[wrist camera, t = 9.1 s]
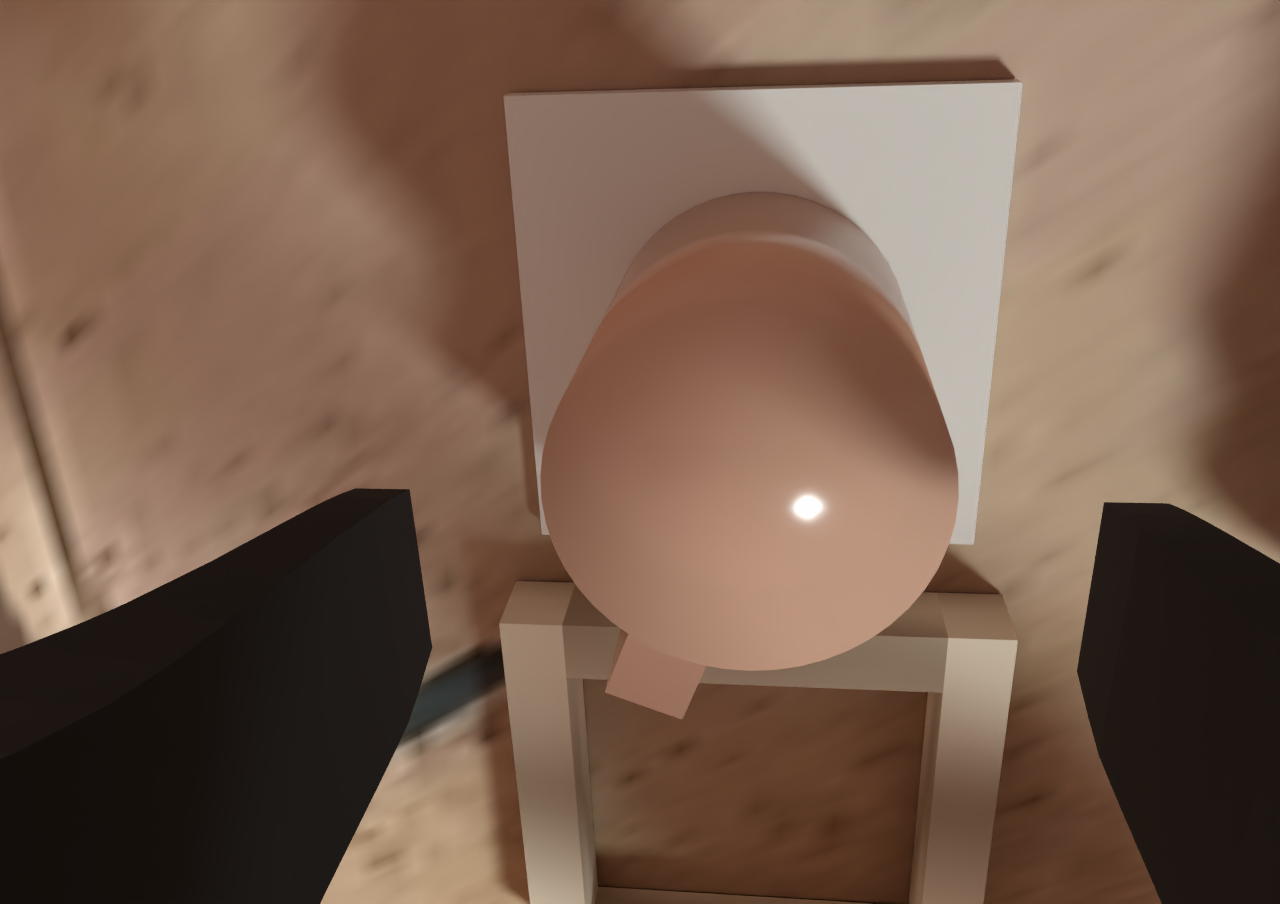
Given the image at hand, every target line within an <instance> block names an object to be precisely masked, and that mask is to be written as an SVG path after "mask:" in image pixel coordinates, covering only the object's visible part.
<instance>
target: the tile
mask: <svg viewBox="0 0 1280 904" xmlns="http://www.w3.org/2000/svg"><path fill="white" fill-rule="evenodd" d="M1022 85H1023V82H1021V81H1019V80H1018V79H1012V80H975V81H937V82H900V83H863V84H826V85H789V86H752V87H715V88H678V89H641V90H604V91H567V92H530V93H508V94H506V95H505V96H503V98H504V109H505V121H506V132H507V143H508V155H509V166H510V178H511V189H512V200H513V212H514V223H515V235H516V246H517V257H518V269H519V280H520V292H521V303H522V314H523V326H524V337H525V349H526V360H527V372H528V383H529V394H530V406H531V417H532V429H533V440H534V451H535V463H536V474H537V486H538V497H539V508H540V520H541V531H542V535H550V534H549V531H548V528H547V525H546V522H545V516H544V511H543V506H542V501H541V480H540V474H541V464H542V454H543V449H544V445H545V441H546V437H547V433H548V429H549V426H550V424H551V421H552V419H553V417H554V414H555V412H556V409H557V407H558V405H559V403H560V401H561V399H562V397H563V395H564V393H565V391H566V389H567V387H568V385H569V383H570V381H571V379H572V377H573V375H574V373H575V371H576V369H577V367H578V365H579V364H580V362H581V360H582V358H583V356H584V354H585V352H586V350H587V348H588V346H589V344H590V342H591V340H592V338H593V336H594V334H595V332H596V330H597V328H598V326H599V324H600V322H601V320H602V318H603V317H604V315H605V313H606V311H607V309H608V307H609V305H610V303H611V301H612V299H613V297H614V295H615V293H616V291H617V289H618V287H619V285H620V283H621V281H622V279H623V277H624V275H625V273H626V272H627V270H628V268H629V266H630V265H631V263H632V261H633V260H634V258H635V256H636V255H637V254H638V252H639V251H640V250H641V249H642V247H643V246H644V245H645V243H646V242H647V241H648V240H649V239H650V238H651V237H652V236H653V235H654V234H655V233H656V232H657V231H658V230H659V229H660V228H661V227H663V226H664V225H665V224H667V223H668V222H669V221H671V220H672V219H673V218H675V217H676V216H678V215H679V214H681V213H683V212H685V211H687V210H688V209H690V208H692V207H694V206H696V205H699V204H701V203H704V202H706V201H709V200H711V199H714V198H718V197H722V196H727V195H731V194H737V193H746V192H776V193H783V194H789V195H795V196H798V197H802V198H805V199H808V200H812V201H815V202H817V203H819V204H821V205H824V206H826V207H828V208H830V209H832V210H834V211H836V212H837V213H839V214H840V215H842V216H844V217H845V218H847V219H848V220H850V221H851V222H852V223H853V224H855V225H856V226H857V227H858V228H859V229H861V230H862V231H863V232H864V233H865V234H866V235H867V236H868V237H869V238H870V239H871V240H872V241H873V243H874V244H875V245H876V246H877V247H878V248H879V250H880V251H881V253H882V254H883V256H884V257H885V259H886V260H887V262H888V263H889V265H890V267H891V269H892V271H893V273H894V275H895V277H896V279H897V282H898V284H899V287H900V290H901V293H902V296H903V299H904V302H905V305H906V308H907V311H908V314H909V317H910V320H911V322H912V325H913V328H914V331H915V334H916V337H917V340H918V343H919V346H920V349H921V352H922V355H923V358H924V360H925V363H926V366H927V369H928V372H929V375H930V378H931V381H932V384H933V387H934V390H935V393H936V396H937V398H938V401H939V404H940V407H941V410H942V413H943V416H944V419H945V422H946V425H947V428H948V431H949V434H950V437H951V440H952V443H953V446H954V450H955V456H956V462H957V468H958V486H959V499H958V507H957V514H956V522H955V526H954V529H953V532H952V536H951V539H950V543H949V544H974V537H975V528H976V518H977V509H978V499H979V490H980V481H981V471H982V462H983V452H984V443H985V433H986V424H987V415H988V405H989V396H990V386H991V377H992V367H993V358H994V349H995V339H996V330H997V320H998V311H999V301H1000V292H1001V283H1002V273H1003V264H1004V254H1005V245H1006V236H1007V226H1008V217H1009V207H1010V198H1011V188H1012V179H1013V170H1014V160H1015V151H1016V141H1017V132H1018V122H1019V113H1020V104H1021V94H1022Z"/></svg>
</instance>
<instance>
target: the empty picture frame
mask: <svg viewBox="0 0 1280 904" xmlns="http://www.w3.org/2000/svg"><path fill="white" fill-rule="evenodd" d="M499 628H500V637H501V646H502V655H503V664H504V673H505V682H506V691H507V700H508V709H509V718H510V727H511V736H512V745H513V754H514V763H515V772H516V781H517V790H518V799H519V808H520V817H521V826H522V835H523V844H524V853H525V862H526V871H527V880H528V889H529V898H530V904H871V903H855V902H838V901H822V900H806V899H790V898H773V897H757V896H741V895H725V894H708V893H692V892H676V891H660V890H644V889H627V888H611V887H598V880H597V866H596V853H595V839H594V826H593V812H592V799H591V785H590V772H589V758H588V745H587V731H586V718H585V704H584V691H583V679H599V680H608V677H609V673H610V669H611V665H612V661H613V657H614V653H615V649H616V645H617V641H618V637H619V633H620V629H621V628H619V627H618V626H617V625H615V624H614V623H612V622H611V621H610V620H609V619H608V618H607V617H605V616H604V615H603V614H602V613H601V612H600V611H599V610H598V609H597V608H596V607H594V606H593V605H592V603H591V602H590V601H589V600H588V599H587V598H586V597H585V595H584V594H583V593H582V592H581V591H580V590H579V588H578V587H577V586H576V584H575V583H571V582H535V581H516V583H515V585H514V588H513V590H512V593H511V595H510V598H509V600H508V603H507V605H506V607H505V610H504V612H503V615H502V617H501V620H500V622H499ZM1017 644H1018V639H1017V636H1016V633H1015V630H1014V628H1013V625H1012V622H1011V619H1010V616H1009V613H1008V610H1007V608H1006V605H1005V602H1004V599H1003V596H1002V594H966V593H930V592H922V594H921V595H920V596H919V597H918V598H917V599H916V601H915V602H914V603H913V604H912V605H911V606H910V608H909V609H908V610H906V611H905V612H904V613H903V614H902V615H901V616H900V617H899V618H898V619H896V620H895V621H894V622H893V623H892V624H891V625H890V626H888V627H887V628H885V629H884V630H882V631H881V632H880V633H878V634H877V635H875V636H874V637H872V638H871V639H869V640H867V641H866V642H864V643H862V644H860V645H858V646H856V647H854V648H852V649H850V650H849V651H846V652H844V653H841V654H838V655H836V656H833V657H831V658H828V659H825V660H822V661H818V662H814V663H811V664H807V665H803V666H798V667H792V668H785V669H778V670H759V671H745V670H731V669H722V668H716V667H711V666H706V668H705V671H704V673H703V675H702V677H701V679H700V682H699V683H703V684H729V685H755V686H781V687H807V688H833V689H859V690H885V691H911V692H928V696H927V707H926V718H925V729H924V740H923V751H922V762H921V773H920V784H919V795H918V805H917V816H916V827H915V838H914V849H913V860H912V871H911V882H910V893H909V904H983V902H984V895H985V887H986V880H987V872H988V864H989V857H990V849H991V842H992V834H993V826H994V819H995V811H996V804H997V796H998V788H999V781H1000V773H1001V766H1002V758H1003V750H1004V743H1005V735H1006V728H1007V720H1008V712H1009V705H1010V697H1011V690H1012V682H1013V674H1014V667H1015V659H1016V652H1017Z"/></svg>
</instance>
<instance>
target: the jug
mask: <svg viewBox="0 0 1280 904" xmlns="http://www.w3.org/2000/svg"><path fill="white" fill-rule="evenodd" d="M540 480H541V501H542V506H543V511H544V516H545V522H546V525H547V528H548V531H549V534H550V537H551V540H552V543H553V546H554V548H555V550H556V552H557V554H558V556H559V558H560V560H561V562H562V564H563V566H564V568H565V569H566V571H567V572H568V574H569V575H570V577H571V578H572V580H573V581H574V583H575V584H576V586H577V587H578V588H579V590H580V591H581V592H582V593H583V594H584V595H585V597H586V598H587V599H588V600H589V601H590V602H591V603H592V605H593V606H594V607H596V608H597V609H598V610H599V611H600V612H601V613H602V614H603V615H604V616H605V617H607V618H608V619H609V620H610V621H611V622H612V623H614V624H615V625H617V626H618V627H619V628H621V629H620V633H619V637H618V641H617V645H616V649H615V653H614V657H613V661H612V665H611V669H610V673H609V677H608V681H607V685H606V689H605V693H607V694H610V695H613V696H616V697H619V698H622V699H624V700H627V701H630V702H633V703H636V704H639V705H641V706H644V707H647V708H650V709H653V710H656V711H658V712H661V713H664V714H667V715H670V716H673V717H675V718H678V719H681V720H682V719H683V717H684V715H685V713H686V710H687V708H688V706H689V704H690V701H691V699H692V697H693V695H694V693H695V690H696V688H697V686H698V684H699V682H700V679H701V677H702V675H703V673H704V671H705V668H706V666H711V667H716V668H722V669H731V670H745V671H759V670H778V669H785V668H792V667H798V666H803V665H807V664H811V663H814V662H818V661H822V660H825V659H828V658H831V657H833V656H836V655H838V654H841V653H844V652H846V651H849V650H850V649H852V648H854V647H856V646H858V645H860V644H862V643H864V642H866V641H867V640H869V639H871V638H872V637H874V636H875V635H877V634H878V633H880V632H881V631H882V630H884V629H885V628H887V627H888V626H890V625H891V624H892V623H893V622H894V621H895V620H896V619H898V618H899V617H900V616H901V615H902V614H903V613H904V612H905V611H906V610H908V609H909V608H910V606H911V605H912V604H913V603H914V602H915V601H916V599H917V598H918V597H919V596H920V595H921V594H922V592H923V591H924V590H925V589H926V587H927V586H928V584H929V582H930V581H931V579H932V578H933V576H934V575H935V573H936V571H937V570H938V568H939V566H940V564H941V562H942V559H943V557H944V555H945V553H946V551H947V548H948V546H949V543H950V539H951V536H952V532H953V529H954V526H955V522H956V514H957V507H958V499H959V486H958V468H957V462H956V456H955V450H954V446H953V443H952V440H951V437H950V434H949V431H948V428H947V425H946V422H945V419H944V416H943V413H942V410H941V407H940V404H939V401H938V398H937V396H936V393H935V390H934V387H933V384H932V381H931V378H930V375H929V372H928V369H927V366H926V363H925V360H924V358H923V355H922V352H921V349H920V346H919V343H918V340H917V337H916V334H915V331H914V328H913V325H912V322H911V320H910V317H909V314H908V311H907V308H906V305H905V302H904V299H903V296H902V293H901V290H900V287H899V284H898V282H897V279H896V277H895V275H894V273H893V271H892V269H891V267H890V265H889V263H888V262H887V260H886V259H885V257H884V256H883V254H882V253H881V251H880V250H879V248H878V247H877V246H876V245H875V244H874V243H873V241H872V240H871V239H870V238H869V237H868V236H867V235H866V234H865V233H864V232H863V231H862V230H861V229H859V228H858V227H857V226H856V225H855V224H853V223H852V222H851V221H850V220H848V219H847V218H845V217H844V216H842V215H840V214H839V213H837V212H836V211H834V210H832V209H830V208H828V207H826V206H824V205H821V204H819V203H817V202H815V201H812V200H808V199H805V198H802V197H798V196H795V195H789V194H783V193H776V192H746V193H737V194H731V195H727V196H722V197H718V198H714V199H711V200H709V201H706V202H704V203H701V204H699V205H696V206H694V207H692V208H690V209H688V210H687V211H685V212H683V213H681V214H679V215H678V216H676V217H675V218H673V219H672V220H671V221H669V222H668V223H667V224H665V225H664V226H663V227H661V228H660V229H659V230H658V231H657V232H656V233H655V234H654V235H653V236H652V237H651V238H650V239H649V240H648V241H647V242H646V243H645V245H644V246H643V247H642V249H641V250H640V251H639V252H638V254H637V255H636V256H635V258H634V260H633V261H632V263H631V265H630V266H629V268H628V270H627V272H626V273H625V275H624V277H623V279H622V281H621V283H620V285H619V287H618V289H617V291H616V293H615V295H614V297H613V299H612V301H611V303H610V305H609V307H608V309H607V311H606V313H605V315H604V317H603V318H602V320H601V322H600V324H599V326H598V328H597V330H596V332H595V334H594V336H593V338H592V340H591V342H590V344H589V346H588V348H587V350H586V352H585V354H584V356H583V358H582V360H581V362H580V364H579V365H578V367H577V369H576V371H575V373H574V375H573V377H572V379H571V381H570V383H569V385H568V387H567V389H566V391H565V393H564V395H563V397H562V399H561V401H560V403H559V405H558V407H557V409H556V412H555V414H554V417H553V419H552V421H551V424H550V426H549V429H548V433H547V437H546V441H545V445H544V449H543V454H542V464H541V474H540Z"/></svg>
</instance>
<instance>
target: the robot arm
mask: <svg viewBox="0 0 1280 904" xmlns="http://www.w3.org/2000/svg"><path fill="white" fill-rule="evenodd" d="M431 649H432V644H431V637H430V630H429V623H428V616H427V609H426V602H425V595H424V588H423V581H422V574H421V567H420V560H419V553H418V546H417V539H416V532H415V525H414V518H413V511H412V504H411V497H410V490H409V489H353V490H350V491H348V492H345V493H342V494H340V495H337V496H335V497H333V498H331V499H329V500H326V501H324V502H322V503H320V504H318V505H316V506H314V507H312V508H310V509H308V510H306V511H305V512H303V513H301V514H299V515H297V516H295V517H293V518H291V519H289V520H288V521H286V522H284V523H282V524H280V525H278V526H276V527H275V528H273V529H271V530H269V531H267V532H265V533H263V534H261V535H260V536H258V537H256V538H254V539H252V540H250V541H248V542H247V543H245V544H243V545H241V546H239V547H237V548H235V549H234V550H232V551H230V552H228V553H226V554H224V555H222V556H220V557H219V558H217V559H215V560H213V561H211V562H209V563H207V564H205V565H203V566H201V567H199V568H197V569H195V570H193V571H191V572H189V573H187V574H185V575H183V576H181V577H179V578H177V579H175V580H173V581H171V582H169V583H166V584H164V585H162V586H160V587H158V588H156V589H154V590H152V591H150V592H148V593H146V594H144V595H142V596H140V597H138V598H136V599H134V600H132V601H130V602H128V603H126V604H124V605H121V606H119V607H117V608H115V609H112V610H110V611H108V612H106V613H104V614H101V615H99V616H97V617H94V618H92V619H90V620H87V621H85V622H83V623H80V624H78V625H75V626H73V627H70V628H68V629H65V630H63V631H60V632H58V633H55V634H53V635H50V636H48V637H45V638H42V639H40V640H37V641H35V642H32V643H30V644H27V645H25V646H22V647H20V648H17V649H14V650H12V651H9V652H6V653H3V654H0V904H320V903H321V901H322V898H323V896H324V894H325V892H326V890H327V888H328V886H329V884H330V882H331V880H332V878H333V876H334V874H335V872H336V870H337V868H338V866H339V864H340V862H341V860H342V858H343V856H344V854H345V852H346V850H347V848H348V846H349V844H350V842H351V840H352V838H353V836H354V834H355V832H356V830H357V828H358V826H359V824H360V822H361V820H362V818H363V816H364V814H365V811H366V809H367V807H368V805H369V803H370V801H371V799H372V797H373V795H374V793H375V791H376V789H377V787H378V785H379V783H380V781H381V779H382V777H383V775H384V773H385V771H386V769H387V767H388V765H389V763H390V760H391V758H392V756H393V754H394V752H395V750H396V748H397V746H398V744H399V742H400V740H401V738H402V735H403V733H404V731H405V729H406V727H407V725H408V722H409V719H410V716H411V713H412V710H413V707H414V704H415V701H416V698H417V695H418V692H419V689H420V686H421V683H422V679H423V676H424V673H425V669H426V666H427V663H428V659H429V656H430V653H431ZM1077 673H1078V677H1079V681H1080V685H1081V689H1082V693H1083V697H1084V701H1085V705H1086V709H1087V714H1088V718H1089V721H1090V725H1091V728H1092V732H1093V736H1094V739H1095V743H1096V746H1097V750H1098V753H1099V757H1100V759H1101V762H1102V764H1103V767H1104V769H1105V771H1106V774H1107V776H1108V779H1109V781H1110V784H1111V786H1112V788H1113V791H1114V793H1115V795H1116V798H1117V800H1118V803H1119V805H1120V807H1121V810H1122V812H1123V814H1124V817H1125V819H1126V821H1127V824H1128V826H1129V829H1130V831H1131V833H1132V835H1133V838H1134V840H1135V842H1136V845H1137V847H1138V849H1139V852H1140V854H1141V856H1142V859H1143V861H1144V863H1145V866H1146V868H1147V870H1148V872H1149V875H1150V877H1151V879H1152V882H1153V884H1154V886H1155V889H1156V891H1157V893H1158V896H1159V898H1160V900H1161V903H1162V904H1280V564H1279V563H1278V562H1276V561H1274V560H1272V559H1271V558H1269V557H1267V556H1266V555H1264V554H1262V553H1260V552H1259V551H1257V550H1255V549H1254V548H1252V547H1250V546H1248V545H1247V544H1245V543H1243V542H1242V541H1240V540H1238V539H1236V538H1235V537H1233V536H1231V535H1229V534H1228V533H1226V532H1224V531H1222V530H1221V529H1219V528H1217V527H1215V526H1213V525H1212V524H1210V523H1208V522H1206V521H1204V520H1202V519H1200V518H1199V517H1197V516H1195V515H1193V514H1191V513H1189V512H1187V511H1185V510H1182V509H1180V508H1178V507H1175V506H1173V505H1171V504H1163V503H1109V502H1104V507H1103V513H1102V519H1101V525H1100V532H1099V538H1098V544H1097V550H1096V556H1095V563H1094V569H1093V575H1092V581H1091V588H1090V594H1089V600H1088V606H1087V612H1086V619H1085V625H1084V631H1083V637H1082V644H1081V650H1080V656H1079V662H1078V669H1077Z"/></svg>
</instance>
